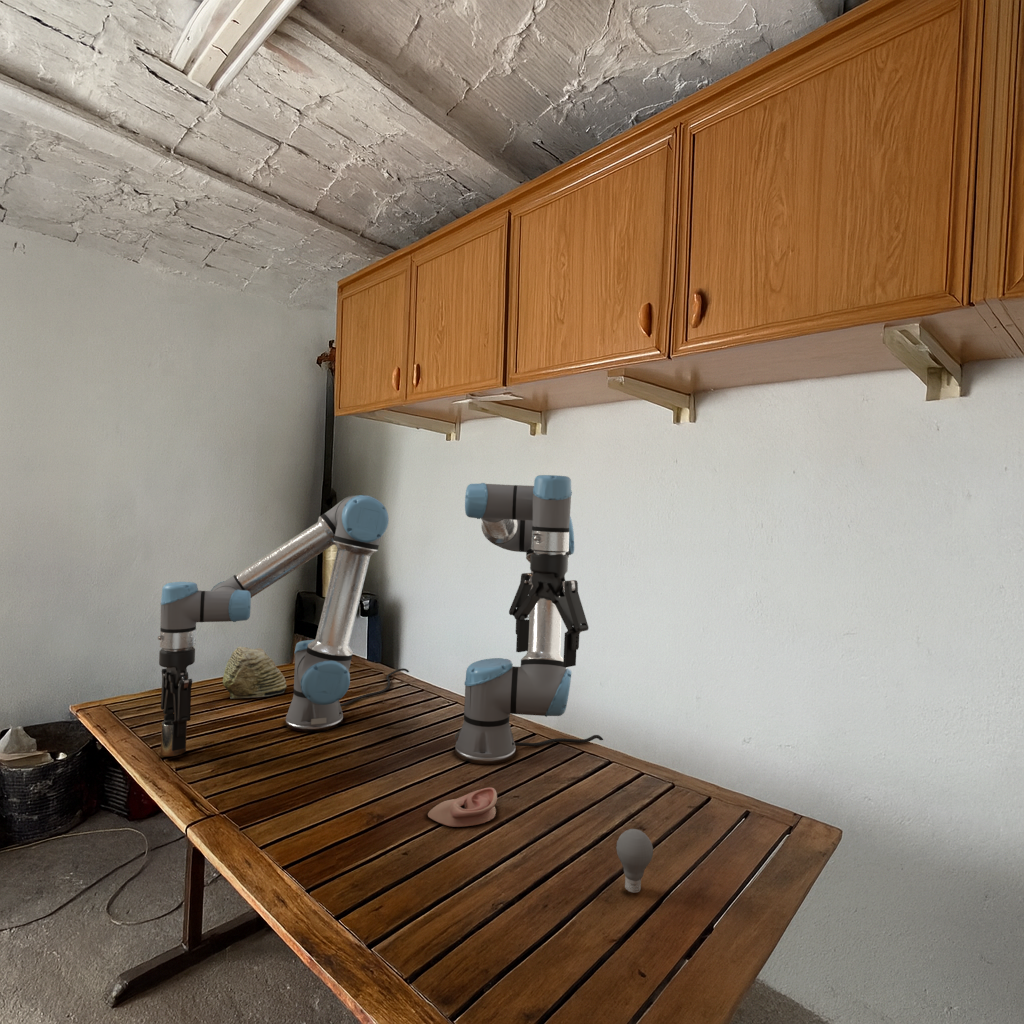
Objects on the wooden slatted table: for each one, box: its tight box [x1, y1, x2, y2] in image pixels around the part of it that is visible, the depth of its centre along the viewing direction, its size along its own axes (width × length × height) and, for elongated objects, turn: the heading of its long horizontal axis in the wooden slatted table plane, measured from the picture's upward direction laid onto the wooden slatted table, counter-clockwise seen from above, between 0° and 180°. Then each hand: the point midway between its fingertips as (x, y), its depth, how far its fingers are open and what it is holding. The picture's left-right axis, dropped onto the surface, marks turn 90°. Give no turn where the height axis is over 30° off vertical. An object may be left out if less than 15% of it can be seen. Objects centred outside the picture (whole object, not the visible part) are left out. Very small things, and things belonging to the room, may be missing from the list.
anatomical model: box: [427, 787, 498, 828], centre depth 129 cm, size 13×4×12 cm
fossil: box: [222, 646, 288, 699], centre depth 198 cm, size 9×18×15 cm, turn 132°
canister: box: [160, 718, 188, 757], centre depth 150 cm, size 5×5×7 cm
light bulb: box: [615, 828, 654, 894], centre depth 106 cm, size 6×6×10 cm
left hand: (174, 744), depth 150 cm, fingers closed on canister, 5 cm apart
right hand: (544, 658), depth 127 cm, fingers open, 13 cm apart
